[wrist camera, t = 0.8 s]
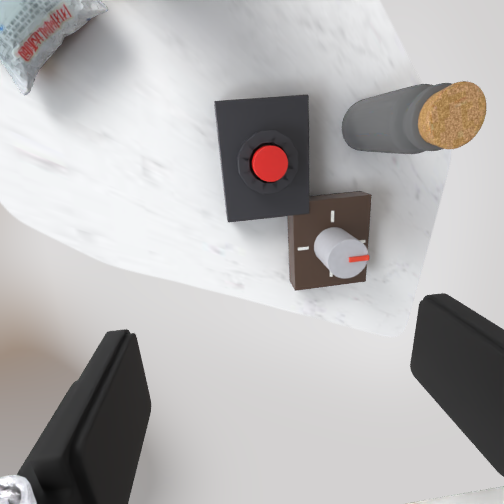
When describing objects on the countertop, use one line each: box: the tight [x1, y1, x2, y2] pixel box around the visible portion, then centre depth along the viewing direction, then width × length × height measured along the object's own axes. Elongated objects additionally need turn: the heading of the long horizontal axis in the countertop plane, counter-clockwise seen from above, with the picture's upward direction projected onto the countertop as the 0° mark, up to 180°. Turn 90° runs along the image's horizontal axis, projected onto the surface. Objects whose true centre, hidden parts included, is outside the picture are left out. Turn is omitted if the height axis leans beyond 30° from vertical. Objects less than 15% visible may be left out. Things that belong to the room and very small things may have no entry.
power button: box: [252, 145, 288, 182], centre depth 31 cm, size 4×4×2 cm
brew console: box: [288, 191, 371, 290], centre depth 39 cm, size 12×10×3 cm
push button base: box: [215, 95, 309, 222], centre depth 34 cm, size 13×10×5 cm
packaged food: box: [0, 0, 108, 95], centre depth 27 cm, size 9×12×5 cm
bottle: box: [342, 81, 486, 154], centre depth 29 cm, size 6×6×15 cm
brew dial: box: [314, 227, 369, 278], centre depth 36 cm, size 5×5×5 cm
